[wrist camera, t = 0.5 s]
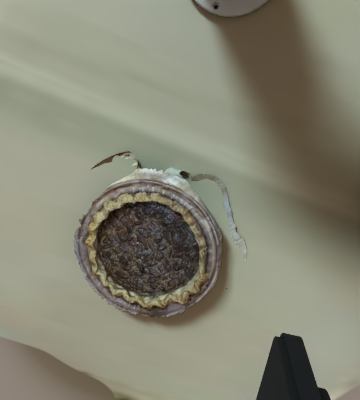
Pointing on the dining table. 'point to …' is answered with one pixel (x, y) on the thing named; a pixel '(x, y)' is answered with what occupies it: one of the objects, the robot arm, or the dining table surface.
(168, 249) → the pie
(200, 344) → the dining table surface
